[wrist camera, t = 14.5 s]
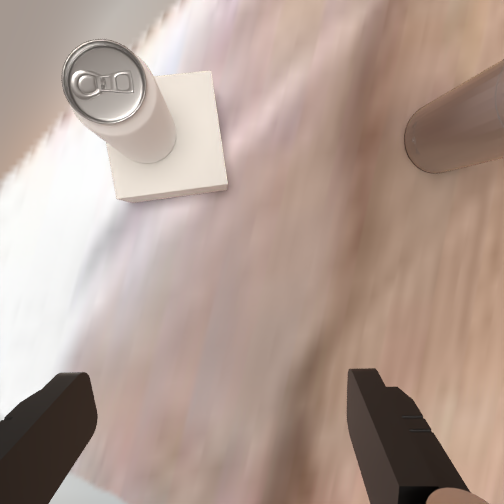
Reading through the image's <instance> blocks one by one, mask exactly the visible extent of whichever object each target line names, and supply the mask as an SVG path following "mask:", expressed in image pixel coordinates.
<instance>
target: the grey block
mask: <svg viewBox="0 0 504 504" xmlns="http://www.w3.org/2000/svg"><path fill="white" fill-rule="evenodd" d="M154 78H155V80H156V82H157V85H158V87H159V89H160V91H161V93H162V95H163V98H164V100H165V102H166V104H167V107H168V109H169V111H170V113H171V116H172V118H173V120H174V123H175V127H176V140H175V144H174V146H173V148H172V150H171V151H170V153H169V154H168V155H167V156H166V157H165V158H163V159H161V160H160V161H157V162H154V163H139V162H136V161H133V160H131V159H129V158H128V157H126V156H125V155H123V154H122V153H121V152H119V151H118V150H116V149H115V148H114V147H112V146H111V145H110V144H108V143H107V142H106V144H107V150H108V155H109V161H110V166H111V172H112V177H113V182H114V188H115V193H116V199H119V200H123V201H127V202H130V203H136V202H143V201H151V200H158V199H165V198H173V197H180V196H187V195H195V194H202V193H209V192H217V191H224V190H227V186H228V182H227V175H226V168H225V162H224V155H223V148H222V141H221V135H220V128H219V121H218V115H217V108H216V101H215V95H214V88H213V81H212V75H211V71H201V72H192V73H182V74H173V75H163V76H154Z"/></svg>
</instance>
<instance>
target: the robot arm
mask: <svg viewBox="0 0 504 504" xmlns="http://www.w3.org/2000/svg"><path fill="white" fill-rule="evenodd" d="M405 146H406V150H407V153H408V155H409V157H410V159H411V160H412V162H413V163H414V164H415V165H416V166H417V167H419V168H420V169H422V170H424V171H427V172H430V173H442V172H447V171H451V170H455V169H459V168H464V167H468V166H472V165H476V164H480V163H484V162H488V161H492V160H497V159H501V158H504V59H503V60H502V61H500V62H498V63H497V64H495V65H493V66H492V67H490V68H488V69H486V70H485V71H483V72H481V73H480V74H478V75H476V76H475V77H473V78H471V79H470V80H468V81H466V82H465V83H463V84H461V85H459V86H458V87H456V88H454V89H453V90H451V91H449V92H448V93H446V94H444V95H442V96H441V97H439V98H437V99H436V100H434V101H432V102H431V103H429V104H427V105H426V106H424V107H422V108H421V109H419V110H418V111H417V112H416V113H415V114H414V115H413V116H412V118H411V119H410V121H409V123H408V125H407V128H406V132H405ZM347 423H348V429H349V434H350V438H351V441H352V444H353V448H354V451H355V454H356V458H357V461H358V464H359V467H360V471H361V474H362V477H363V481H364V484H365V487H366V491H367V494H368V497H369V500H370V504H489V503H488V502H486V501H485V500H483V499H482V498H480V497H478V496H476V495H474V494H472V493H471V492H470V491H469V489H468V488H467V486H466V485H465V483H464V481H463V480H462V478H461V476H460V475H459V473H458V472H457V470H456V468H455V467H454V465H453V464H452V462H451V460H450V459H449V457H448V456H447V454H446V452H445V451H444V449H443V447H442V446H441V444H440V443H439V441H438V439H437V438H436V436H435V435H434V433H432V432H431V428H430V427H429V425H428V423H427V422H426V420H425V419H423V415H422V414H421V412H420V410H419V409H418V407H417V406H416V404H415V402H414V401H413V399H411V398H410V397H409V396H408V395H407V394H405V393H404V392H403V391H402V390H401V389H399V388H398V387H386V386H385V384H384V382H383V381H382V379H381V377H380V375H379V373H378V371H377V370H376V369H349V371H348V385H347ZM96 425H97V409H96V405H95V400H94V395H93V391H92V386H91V382H90V378H89V375H88V374H87V373H85V372H78V373H59V374H57V375H56V376H55V377H54V378H53V379H52V380H51V381H50V382H49V383H48V384H47V385H46V386H45V387H44V388H43V389H42V390H39V391H38V392H36V393H35V394H33V395H31V396H30V397H28V398H27V399H25V400H24V401H22V402H20V403H19V404H18V405H17V406H16V407H15V408H14V409H13V410H12V411H11V412H10V413H9V414H8V415H7V416H6V417H5V419H4V420H1V421H0V504H48V503H49V502H50V500H51V499H52V497H53V496H54V494H55V492H56V491H57V490H58V488H59V487H60V485H61V483H62V482H63V480H64V479H65V477H66V476H67V474H68V473H69V471H70V470H71V468H72V467H73V465H74V463H75V462H76V460H77V459H78V457H79V456H80V454H81V453H82V451H83V450H84V448H85V447H86V445H87V444H88V442H89V440H90V439H91V437H92V436H93V434H94V431H95V429H96Z"/></svg>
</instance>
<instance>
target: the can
mask: <svg viewBox="0 0 504 504" xmlns="http://www.w3.org/2000/svg"><path fill="white" fill-rule="evenodd" d="M62 87H63V91H64V94H65V96H66V98H67V100H68V102H69V104H70V106H71V109H72V110H73V112H74V114H75V115H76V117H77V118H78V119H79V120H80V121H81V122H82V123H83V124H84V125H85V126H86V127H87V128H88V129H90V130H91V131H92V132H94V133H95V134H96V135H98V136H99V137H100V138H102V139H103V140H104V141H106V142H107V143H108V144H110V145H111V146H112V147H114V148H115V149H116V150H118V151H119V152H121V153H122V154H123V155H125V156H126V157H128V158H129V159H131V160H133V161H136V162H139V163H154V162H157V161H160V160H161V159H163V158H165V157H166V156H167V155H168V154H169V153H170V151H171V150H172V148H173V146H174V144H175V140H176V127H175V123H174V120H173V118H172V116H171V113H170V111H169V109H168V107H167V104H166V102H165V100H164V98H163V95H162V93H161V91H160V89H159V87H158V85H157V82H156V80H155V78H154V76H153V74H152V73H151V71H150V69H149V68H148V66H147V65H146V64H145V63H144V62H143V61H142V60H141V59H140V58H139V57H138V56H137V55H135V54H134V53H133V52H132V51H130V50H129V49H128V48H127V47H125V46H123V45H121V44H120V43H117V42H114V41H111V40H106V39H96V40H90V41H88V42H85V43H83V44H81V45H79V46H78V47H76V48H75V49H74V50H73V51H72V52H71V53H70V54H69V56H68V57H67V59H66V61H65V63H64V66H63V70H62Z"/></svg>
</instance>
